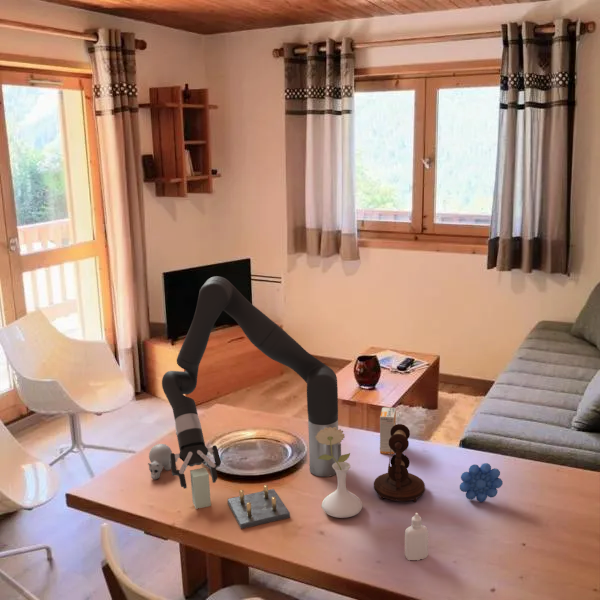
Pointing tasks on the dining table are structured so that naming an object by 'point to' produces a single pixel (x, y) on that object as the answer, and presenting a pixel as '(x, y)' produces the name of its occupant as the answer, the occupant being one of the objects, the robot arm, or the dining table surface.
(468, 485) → the blue ball cluster
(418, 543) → the eye dropper bottle
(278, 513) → the grey gold peg board
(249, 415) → the dining table surface
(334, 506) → the flower in vase
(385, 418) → the supplement box
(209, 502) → the block
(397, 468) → the wooden spool stand
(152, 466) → the round bodied animal figurine
